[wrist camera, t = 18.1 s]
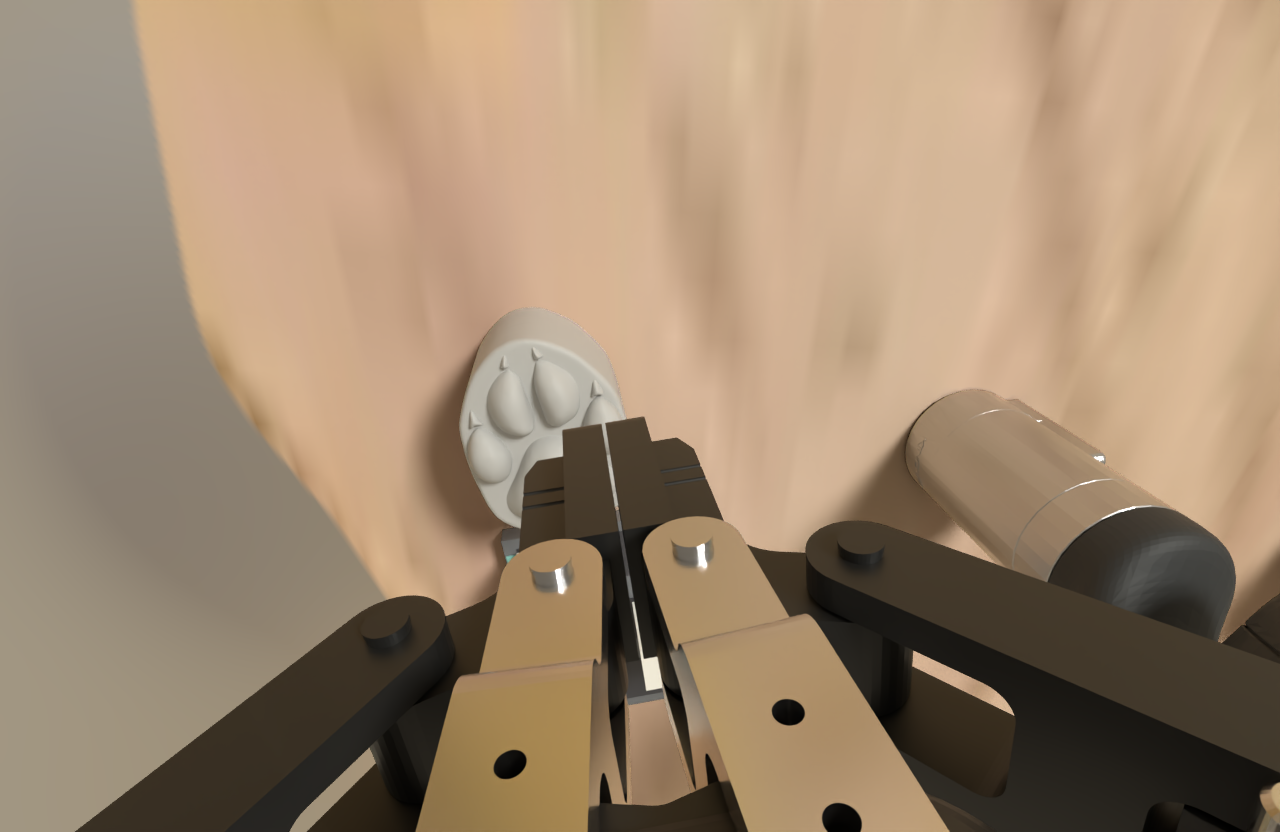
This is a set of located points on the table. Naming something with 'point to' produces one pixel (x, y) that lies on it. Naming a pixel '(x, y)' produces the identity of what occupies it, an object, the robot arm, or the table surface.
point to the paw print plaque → (532, 401)
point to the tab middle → (649, 665)
